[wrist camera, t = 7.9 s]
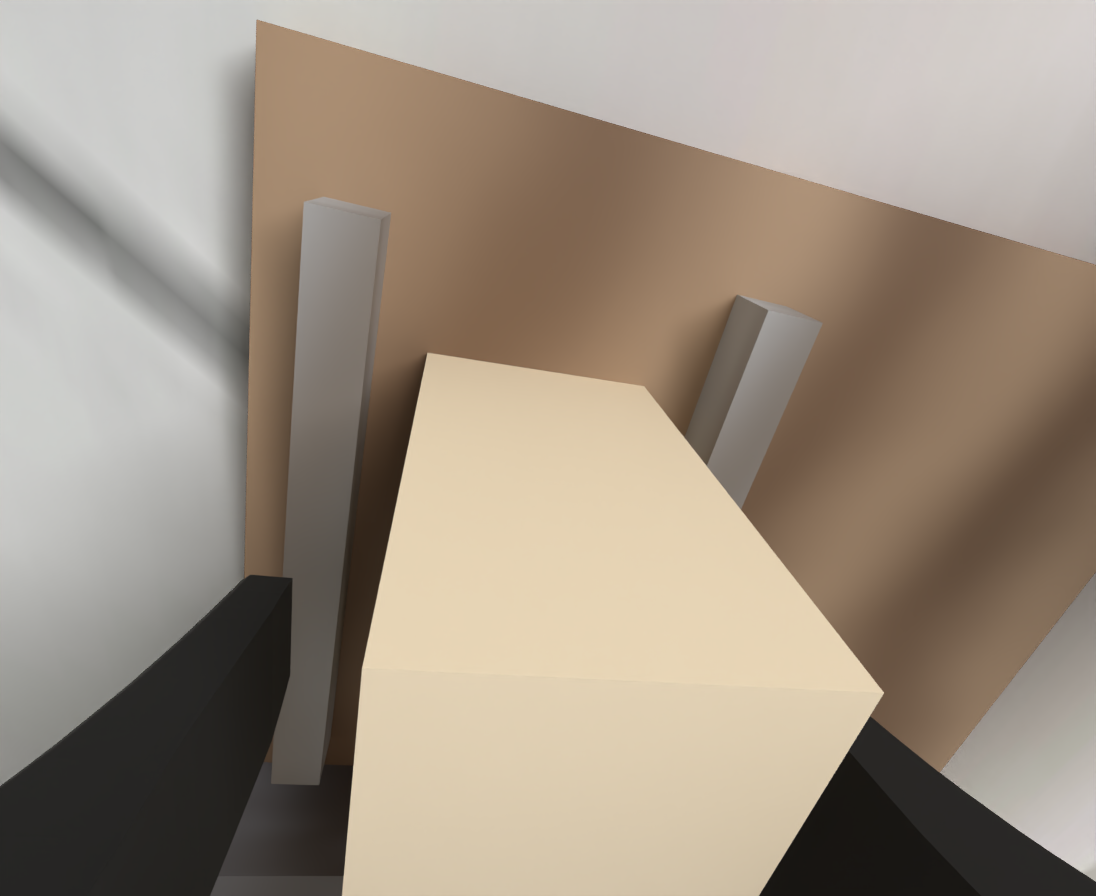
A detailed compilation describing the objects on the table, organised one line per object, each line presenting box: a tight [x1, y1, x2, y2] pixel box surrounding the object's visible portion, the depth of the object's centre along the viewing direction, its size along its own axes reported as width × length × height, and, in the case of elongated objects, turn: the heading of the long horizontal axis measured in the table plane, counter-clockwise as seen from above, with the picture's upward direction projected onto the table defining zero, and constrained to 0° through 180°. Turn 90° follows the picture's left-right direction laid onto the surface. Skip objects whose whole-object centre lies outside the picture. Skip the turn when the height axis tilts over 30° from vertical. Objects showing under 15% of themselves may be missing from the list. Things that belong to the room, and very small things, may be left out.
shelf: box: [210, 20, 1096, 896], centre depth 12 cm, size 20×16×4 cm
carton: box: [342, 353, 884, 896], centre depth 9 cm, size 8×4×7 cm, turn 168°
